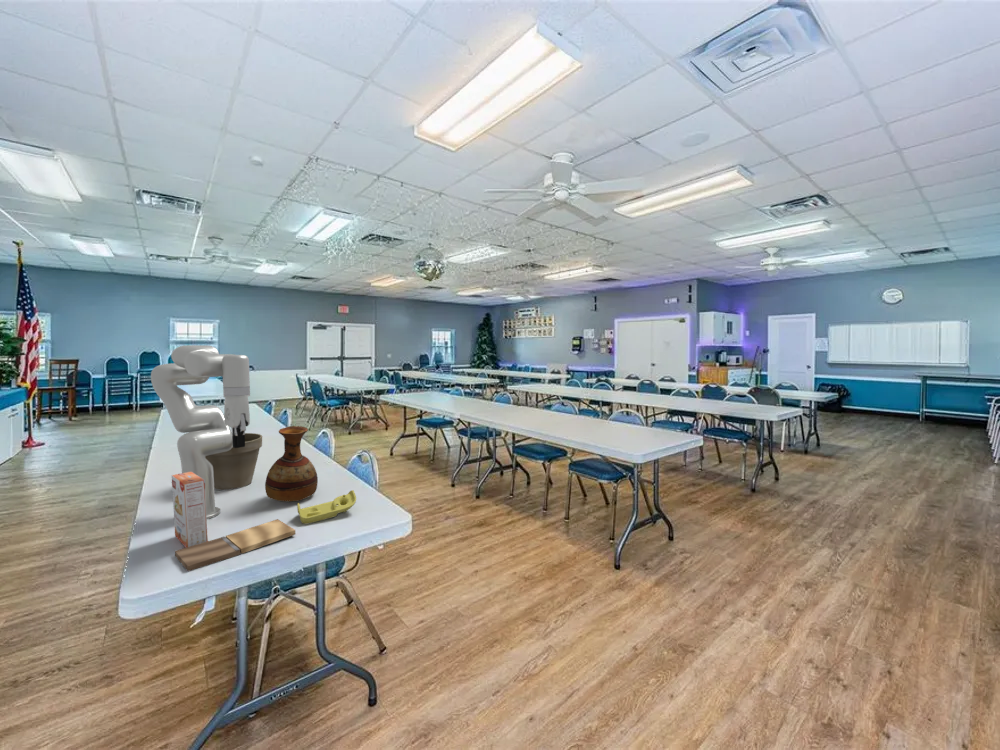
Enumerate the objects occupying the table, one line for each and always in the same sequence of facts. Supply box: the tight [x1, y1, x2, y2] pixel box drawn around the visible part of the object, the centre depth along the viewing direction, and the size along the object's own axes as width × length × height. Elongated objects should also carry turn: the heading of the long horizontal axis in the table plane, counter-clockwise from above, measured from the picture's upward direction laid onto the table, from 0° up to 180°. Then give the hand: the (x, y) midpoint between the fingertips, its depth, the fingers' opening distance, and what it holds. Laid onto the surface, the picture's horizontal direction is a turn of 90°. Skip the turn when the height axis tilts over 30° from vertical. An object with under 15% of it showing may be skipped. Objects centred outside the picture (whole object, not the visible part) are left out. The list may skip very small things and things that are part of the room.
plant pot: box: [205, 432, 263, 491], centre depth 194 cm, size 25×25×22 cm
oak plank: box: [225, 518, 296, 555], centre depth 139 cm, size 16×14×2 cm
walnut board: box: [174, 536, 241, 572], centre depth 127 cm, size 14×13×2 cm
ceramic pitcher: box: [264, 425, 319, 503], centre depth 177 cm, size 20×20×30 cm
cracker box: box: [171, 472, 209, 548], centre depth 137 cm, size 14×6×21 cm, turn 50°
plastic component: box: [296, 490, 357, 525], centre depth 159 cm, size 20×7×10 cm
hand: (238, 447), depth 142 cm, fingers closed
